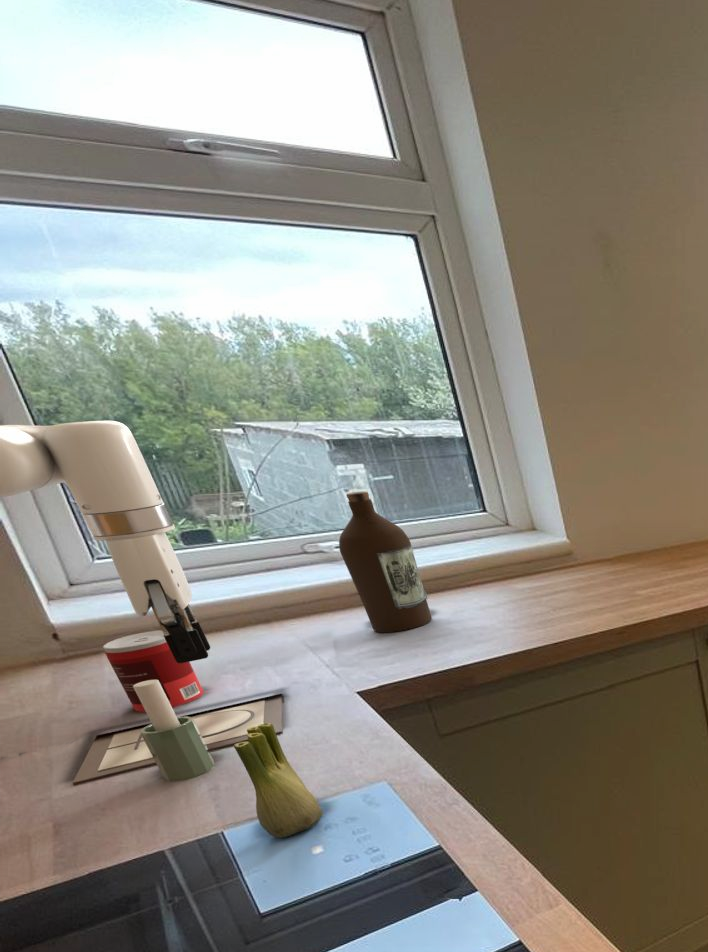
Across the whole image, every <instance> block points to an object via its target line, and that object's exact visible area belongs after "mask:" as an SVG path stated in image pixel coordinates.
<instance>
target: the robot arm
mask: <svg viewBox="0 0 708 952" xmlns="http://www.w3.org/2000/svg"><path fill="white" fill-rule="evenodd" d="M63 483H66V485H67V488H68V490H69V491H70V494H71V496H72V497H73V500H74V501H75V503H76V505H77V508H78V509H79V511H80V513H81V515H82V518H83V519H84V521H85V523H86V525H87V527H88V529H89V531H90V533H91V535H92V537H93V539H94V541H97V542H100V541H101V542H106V545H107V548H108V551H109V554H110V557H111V560H112V563H113V565H114V567H115V569H116V572H117V574H118V576H119V578H120V581H121V583H122V585H123V587H124V589H125V593H126V594H127V596H128V599H129V601H130V603H131V605H132V608H133V610H134V612H135V614H136V615H138V616H140V617H146V616H147V614H148V613H149V611H150V610H151V609H152V612H153V614H154V616H155V618H156V621H157V623H158V625H159V628H160V630H162V631H163V633H164V638H165V640H166V642H167V644H168V646H169V648H170V650H171V652H172V654H173V656H174V658H175V660H176V662H177V663H185V662H190V663H191V662H195V661H200V660H204V659H207V658H208V657H209V653H208V651H210V649H211V645H210V643H209V641H208V638H207V636H206V634H205V632H204V630H203V628H202V626H201V623H200V622H199V621H197V618H196V615H195V614H194V612H193V610H192V607H191V606H190V602H191V599H192V596H193V594H192V590H191V587H190V585H189V582H188V580H187V577H186V574H185V572H184V569H183V568H182V565H181V563H180V561H179V558H178V556H177V554H176V551H175V550H174V548H173V545H172V544H171V541H170V540H169V537H168V535H167V534H166V533H167V532H171V531H174V530H176V526H175V524H174V522H173V520H172V518H171V515H170V513H169V511H168V509H167V506H166V504H165V502H164V501H163V498H162V496H161V493H160V492H159V489H158V487H157V485H156V482H155V480H154V478H153V477H152V474H151V472H150V469H149V467H148V465H147V462H146V460H145V458H144V456H143V454H142V451H141V450H140V448H139V445H138V443H137V441H136V439H135V437H134V435H133V433H132V431H131V430H130V428H129V427H127V425H125V424H124V423H122V422H119V421H115V420H89V421H76V422H74V421H73V422H66V423H65V422H64V423H58V424H54V425H31V424H30V425H29V424H0V498H5V497H11V496H15V495H18V494H22V493H26V492H30V491H34V490H39V489H41V488H46V487H50V486H54V485H58V484H63Z"/></svg>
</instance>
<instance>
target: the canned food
mask: <svg viewBox="0 0 708 952" xmlns="http://www.w3.org/2000/svg"><path fill="white" fill-rule="evenodd" d="M102 649H103V652H104V654H105V656H106V658H107V660H108V662H109V664H110V666H111V668H112V669H113V671H114V673H115V676H116V677H117V679H118V681H119V683H120V685H121V687H122V688H123V691H124V692H125V694H126V697H127V698H128V701H130V704H131V706H132V707H133V709H134V711H137V712H144V713H145V712H146V711H145V709H144V707H143V705H142V703H141V701H140V699H139V697H138V695H137V693H136V691H135V689H134V687H133V685H135V684H137V683H140V682H143V681H148V680H158V681H159V682H160V684H161V686H162V689H163V691H164V693H165V695H166V697H167V699H168V701H169V703H170V705H171V707H172V708H175V707H177V706H181V705H184V704H187V703H190V702H192V701H195V700H197V699H198V698H201V697H202V696H203V695H204V693H205V692H204V690H203V688H202V686H201V683H200V681H199V679H198V677H197V675H196V672H195V671H194V669H193V666H192V664H191V661H190V662H185V663H177V662H176V660H175V658H174V656H173V654H172V652H171V650H170V648H169V646H168V644H167V642H166V640H165V638H164V633H163V631H162V629H160V630H151V631H144V632H139V633H134V634H131V635H126V636H122V637H120V638H119V637H118V638H116V639H113V640H111V641H109V642H106V643H105V644H104V645H102Z"/></svg>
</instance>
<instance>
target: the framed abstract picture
mask: <svg viewBox="0 0 708 952" xmlns="http://www.w3.org/2000/svg"><path fill="white" fill-rule="evenodd" d="M284 703H285V698H284V694H283V693H277V694H273V695H268V696H264V697H261V698H255V699H251V700H247V701H242V702H238V703H234V704H233V703H232V704H230V705H229V704H228V705H225V706H221V707H216V708H212V709H207V710H203V711H202V710H201V711H197V712H193V713H190V714H185V715H181V716H179V717H185V716H187V717H192V718H193V720H194V722H195V724H196V726H197V728H198V730H199V732H200V734H201V736H202V738H203V740H204V742H205V744H206V746H207V748H208V750H209V752H210V753H211V752H214V751H218V750H221V749H226V748H230V747H234V745H235V744H237V743H241V742H249V740H248V737H247V735H248V732H247V729H249V728H252V727H257V726H258V725H260V724H265V723H271V724H272V725H273V727H274V730H275V733H276V735H277V736H279V735H282V734H284ZM150 724H152V723H151V722H150V723H146V724H141V725H137V726H132V727H127V728H123V729H119V730H115V731H110V732H105V733H102V734H97V735H96V736H95V738H94V740H93V742H92V744H91V746H90V748H89V749H88V752H87V753H86V755H85V757H84V759H83V761H82V764H81V765H80V767H79V769H78V772H77V774H76V775H75V777H74V779H73V781H72V785H73V786H77V785H81V784H85V783H89V782H94V781H97V780H101V779H105V778H109V777H113V776H117V775H121V774H125V773H130V772H133V771H137V770H142V769H145V768H150V767H153V766H157V764H156V762H155V760H154V758H153V756H152V754H151V753H150V751H149V749H148V747H147V745H146V743H145V741H144V739H143V737H142V735H141V733H140V731H141V729H143V728H144V727H146V726H148V725H150Z"/></svg>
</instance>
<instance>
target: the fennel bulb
mask: <svg viewBox="0 0 708 952" xmlns="http://www.w3.org/2000/svg"><path fill="white" fill-rule="evenodd" d="M247 732H248V735H247V737H248V740H249V742H241V743H237V744H235V745H234V746H233V748H234V750H235V751H236V753H237V755H238V757H239V759H240V760H241V763H242V764H243V766H244V768H245V770H246V772H247V775H248V776H249V778H250V781H251V782H252V785H253V787H254V791H255V798H256V799H255V811H256V816H257V820H258V822H259V824H260V826H261V827H262V829H263V830H265V832H267V833H268V834H269V836H272V837H275V838H285V837H290V836H293V835H295V834H298V833H301V832H303V831H305V830H308V829H310V828H313V827H315V826H316V825H317V824H318V823H319V822H320V820H321V818H322V817H323V813H324V812H323V809H322V808H321V807H320V803H319V802H318V800H317V798H316V796H314V795H313V793H312V792H311V791H309V789H308V788H307V787H306V785H305V783H304V782H303V780H302V779H301V778H300V777H301V776H299V775H298V773H297V772H296V771H295V769H294V768H293V766H292V765H291V764H290V762H289V761H288V759H287V757H286V755H285V754H284V751H283V748H282V746H281V742H280V741H279V737H278V735H276V733H275V730H274V727H273V725H272V724H271V723H265V724H260V725H258V726H257V727H252V728H249V729H247ZM300 831H301V832H300Z"/></svg>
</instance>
